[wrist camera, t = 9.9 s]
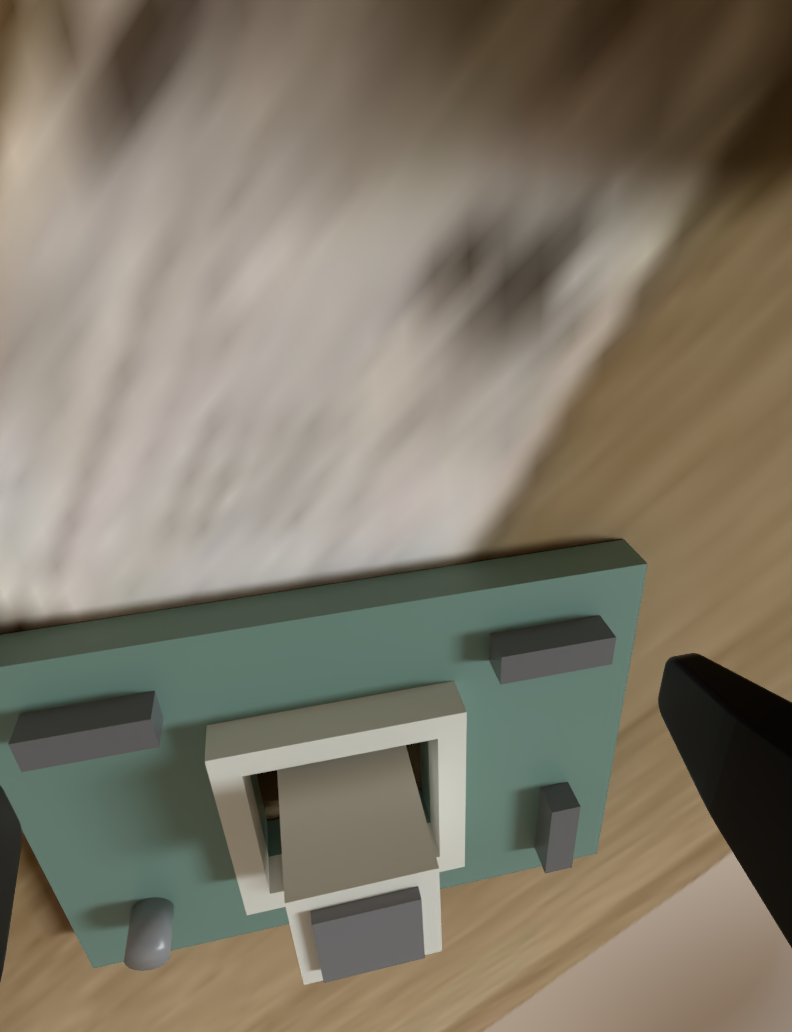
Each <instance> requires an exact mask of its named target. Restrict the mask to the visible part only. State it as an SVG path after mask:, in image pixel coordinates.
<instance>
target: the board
mask: <svg viewBox="0 0 792 1032" xmlns="http://www.w3.org/2000/svg"><path fill="white" fill-rule="evenodd" d="M646 569H647V563H646V562H645V561H644V560H643V559H642V558H641V556H640V555H639V554H638V553H637V552H636V551H635V550H634V549H633V548H632V547H631V546H630V545H629V544H628V543H627V542H626V541H625V540H617V541H610V542H604V543H597V544H591V545H584V546H578V547H571V548H565V549H558V550H552V551H545V552H539V553H532V554H525V555H519V556H512V557H506V558H499V559H493V560H486V561H480V562H473V563H467V564H460V565H453V566H447V567H440V568H434V569H427V570H421V571H414V572H408V573H401V574H395V575H388V576H382V577H375V578H368V579H362V580H355V581H349V582H342V583H336V584H329V585H323V586H316V587H310V588H303V589H297V590H290V591H283V592H277V593H270V594H264V595H257V596H251V597H244V598H238V599H231V600H225V601H218V602H211V603H205V604H198V605H192V606H185V607H179V608H172V609H166V610H159V611H153V612H146V613H140V614H133V615H126V616H120V617H113V618H107V619H100V620H94V621H87V622H81V623H74V624H68V625H61V626H55V627H48V628H41V629H35V630H28V631H22V632H15V633H9V634H2V635H0V785H1V787H2V788H3V790H4V792H5V794H6V796H7V798H8V799H9V801H10V803H11V805H12V807H13V809H14V811H15V813H16V815H17V817H18V819H19V821H20V824H21V828H22V831H23V833H24V835H25V837H26V839H27V841H28V843H29V845H30V846H31V848H32V850H33V852H34V854H35V856H36V858H37V860H38V862H39V864H40V866H41V868H42V870H43V872H44V874H45V876H46V878H47V880H48V881H49V883H50V885H51V887H52V889H53V891H54V893H55V895H56V897H57V899H58V901H59V903H60V905H61V907H62V909H63V911H64V913H65V914H66V916H67V918H68V920H69V922H70V924H71V926H72V928H73V930H74V932H75V934H76V936H77V938H78V940H79V942H80V944H81V946H82V948H83V949H84V951H85V953H86V955H87V957H88V959H89V961H90V963H91V965H92V967H93V968H97V967H102V966H106V965H110V964H115V963H119V962H124V963H125V965H126V966H127V967H129V968H131V969H134V970H141V971H144V970H152V969H155V968H158V967H160V966H162V965H164V964H165V963H166V962H167V961H168V960H169V958H170V951H172V950H176V949H181V948H185V947H189V946H194V945H198V944H203V943H207V942H211V941H216V940H220V939H224V938H229V937H233V936H238V935H242V934H246V933H251V932H255V931H259V930H264V929H268V928H273V927H277V926H281V925H286V924H289V919H288V915H287V911H286V907H285V900H284V883H283V865H282V847H281V830H280V818H279V819H275V820H270V821H267V818H266V813H265V809H264V804H263V800H262V795H261V791H260V786H259V782H258V777H257V774H258V773H263V772H269V771H274V770H279V769H284V768H289V767H294V766H300V765H305V764H310V763H315V762H320V761H326V760H331V759H336V758H341V757H346V756H351V755H357V754H362V753H367V752H372V751H377V750H383V749H388V748H393V747H398V746H403V745H409V744H414V743H419V742H420V767H421V790H418V792H419V796H420V799H421V803H422V807H423V810H424V814H425V818H426V821H427V825H428V829H429V833H430V836H431V840H432V844H433V847H434V851H435V855H436V858H437V862H438V866H439V878H440V889H444V888H448V887H452V886H457V885H461V884H465V883H470V882H474V881H479V880H483V879H487V878H492V877H496V876H501V875H505V874H509V873H514V872H518V871H522V870H527V869H531V868H536V867H540V866H542V867H543V869H544V872H545V873H549V872H553V871H558V870H562V869H566V868H571V867H572V862H573V859H575V858H579V857H584V856H588V855H593V854H597V849H598V843H599V838H600V832H601V826H602V821H603V815H604V809H605V803H606V798H607V792H608V786H609V781H610V775H611V769H612V763H613V758H614V752H615V746H616V740H617V735H618V729H619V723H620V718H621V712H622V706H623V700H624V695H625V689H626V683H627V678H628V672H629V666H630V660H631V655H632V649H633V643H634V638H635V632H636V626H637V620H638V615H639V609H640V603H641V598H642V592H643V586H644V580H645V575H646Z"/></svg>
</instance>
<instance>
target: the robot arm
mask: <svg viewBox="0 0 792 1032" xmlns="http://www.w3.org/2000/svg"><path fill="white" fill-rule="evenodd" d="M658 704H659V709H660V713H661V715H662V718H663V720H664V722H665V724H666V726H667V728H668V730H669V732H670V734H671V736H672V738H673V740H674V742H675V744H676V746H677V749H678V751H679V753H680V755H681V757H682V759H683V761H684V763H685V765H686V767H687V769H688V771H689V773H690V775H691V777H692V780H693V782H694V784H695V786H696V788H697V790H698V792H699V794H700V796H701V798H702V800H703V802H704V804H705V806H706V808H707V810H708V811H709V813H710V815H711V817H712V818H713V820H714V822H715V824H716V825H717V827H718V829H719V830H720V832H721V834H722V835H723V837H724V838H725V840H726V842H727V843H728V845H729V847H730V848H731V850H732V852H733V853H734V855H735V856H736V858H737V860H738V861H739V863H740V865H741V866H742V868H743V869H744V871H745V873H746V874H747V876H748V878H749V879H750V881H751V882H752V884H753V886H754V887H755V889H756V890H757V892H758V894H759V896H760V897H761V899H762V900H763V902H764V904H765V905H766V907H767V909H768V910H769V912H770V913H771V915H772V917H773V918H774V920H775V922H776V923H777V925H778V926H779V928H780V930H781V931H782V933H783V935H784V936H785V938H786V939H787V941H788V943H789V944H790V946H791V947H792V702H790V701H788V700H786V699H784V698H782V697H780V696H778V695H776V694H774V693H772V692H771V691H769V690H767V689H765V688H763V687H761V686H759V685H757V684H755V683H753V682H752V681H750V680H748V679H746V678H744V677H742V676H740V675H738V674H736V673H734V672H733V671H731V670H729V669H727V668H725V667H723V666H721V665H719V664H717V663H715V662H713V661H712V660H710V659H708V658H706V657H704V656H702V655H700V654H696V653H690V654H685V655H679V656H674V657H671V658H669V659H668V661H667V662H666V664H665V668H664V673H663V678H662V683H661V687H660V692H659V697H658ZM21 845H22V828H21V824H20V821H19V819H18V817H17V815H16V813H15V811H14V809H13V807H12V805H11V803H10V801H9V799H8V798H7V796H6V794H5V792H4V790H3V788H2V787H1V785H0V981H1V977H2V972H3V967H4V961H5V955H6V949H7V942H8V935H9V928H10V922H11V915H12V908H13V901H14V894H15V887H16V880H17V873H18V866H19V859H20V852H21Z"/></svg>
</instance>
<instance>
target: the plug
mask: <svg viewBox="0 0 792 1032" xmlns="http://www.w3.org/2000/svg"><path fill="white" fill-rule="evenodd" d="M277 777H278V794H279V812H280V830H281V847H282V865H283V883H284V900H285V907H286V911H287V915H288V919H289V924H290V928H291V932H292V936H293V940H294V945H295V949H296V953H297V957H298V961H299V965H300V970H301V974H302V978H303V982H304V985H306V984H310V983H314V982H318V981H322V980H323V982H324V983H326V982H330V981H334V980H338V979H342V978H346V977H350V976H354V975H358V974H362V973H366V972H370V971H374V970H378V969H382V968H386V967H390V966H394V965H398V964H402V963H406V962H410V961H414V960H418V959H422V958H425V955H427V954H431V953H435V952H439V951H442V936H441V907H440V878H439V866H438V862H437V858H436V855H435V851H434V847H433V844H432V840H431V836H430V833H429V829H428V825H427V821H426V818H425V814H424V810H423V807H422V803H421V799H420V796H419V792H418V788H417V785H416V781H415V777H414V774H413V770H412V766H411V762H410V759H409V755H408V751H407V748H406V745H403V746H398V747H393V748H388V749H383V750H377V751H372V752H367V753H362V754H357V755H351V756H346V757H341V758H336V759H331V760H326V761H320V762H315V763H310V764H305V765H300V766H294V767H289V768H284V769H279V770H277Z"/></svg>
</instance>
